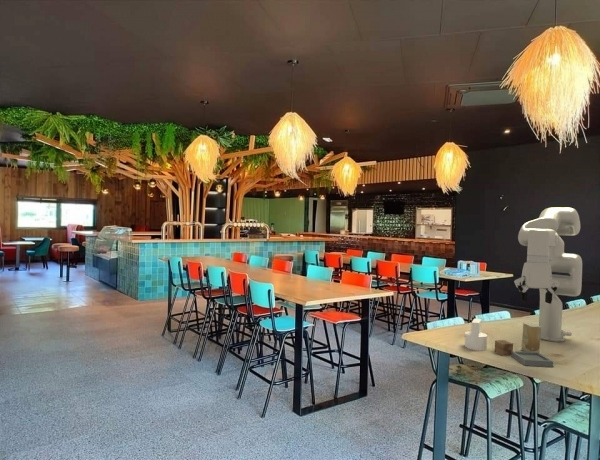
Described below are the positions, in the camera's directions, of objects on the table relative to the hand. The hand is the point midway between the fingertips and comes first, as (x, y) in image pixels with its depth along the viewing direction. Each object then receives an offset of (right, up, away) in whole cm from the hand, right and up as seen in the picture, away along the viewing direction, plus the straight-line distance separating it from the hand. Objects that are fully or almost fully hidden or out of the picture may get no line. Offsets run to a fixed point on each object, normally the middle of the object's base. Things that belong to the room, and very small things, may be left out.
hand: (535, 302), depth 160 cm
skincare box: (+6, -25, +14) cm, 29 cm away
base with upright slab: (-16, -24, +19) cm, 34 cm away
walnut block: (-7, -24, +11) cm, 28 cm away
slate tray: (0, -24, +2) cm, 24 cm away
